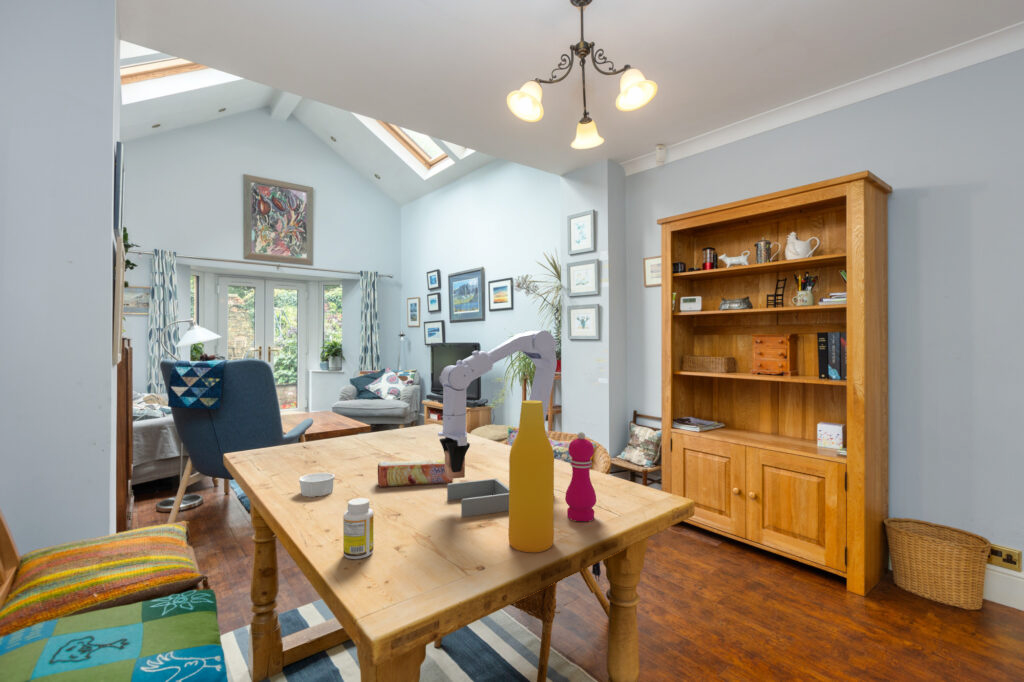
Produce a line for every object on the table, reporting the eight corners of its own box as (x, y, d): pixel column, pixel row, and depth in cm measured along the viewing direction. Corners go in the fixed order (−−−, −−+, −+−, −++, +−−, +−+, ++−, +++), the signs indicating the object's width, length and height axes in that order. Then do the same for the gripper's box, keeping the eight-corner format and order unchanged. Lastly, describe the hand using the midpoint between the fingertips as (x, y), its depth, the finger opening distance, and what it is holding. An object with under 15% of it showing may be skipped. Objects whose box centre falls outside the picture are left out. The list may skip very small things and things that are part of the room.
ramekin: (291, 495, 128) (291, 479, 128) (316, 486, 136) (316, 470, 136) (317, 500, 124) (317, 483, 124) (341, 490, 132) (341, 474, 132)
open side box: (496, 493, 130) (496, 478, 130) (515, 509, 118) (515, 493, 118) (447, 499, 125) (447, 483, 125) (462, 517, 113) (462, 499, 113)
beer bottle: (540, 557, 92) (541, 405, 92) (499, 546, 97) (500, 402, 97) (561, 540, 100) (562, 400, 100) (523, 531, 105) (524, 397, 105)
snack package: (450, 478, 145) (450, 455, 145) (453, 484, 139) (453, 461, 139) (377, 483, 140) (377, 459, 140) (377, 489, 133) (377, 465, 133)
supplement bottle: (363, 545, 97) (363, 494, 97) (379, 553, 93) (379, 500, 93) (337, 554, 93) (337, 501, 93) (353, 563, 89) (353, 508, 89)
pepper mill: (598, 513, 115) (599, 430, 115) (593, 524, 109) (594, 436, 108) (568, 510, 118) (569, 428, 118) (562, 520, 111) (562, 433, 111)
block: (460, 473, 121) (460, 449, 121) (464, 477, 118) (464, 452, 118) (444, 474, 120) (444, 450, 120) (448, 479, 116) (449, 454, 116)
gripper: (431, 410, 124) (431, 463, 124) (446, 419, 111) (445, 478, 111) (458, 409, 127) (457, 461, 127) (475, 417, 113) (475, 475, 113)
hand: (454, 469), depth 119 cm, fingers closed on block, 4 cm apart
